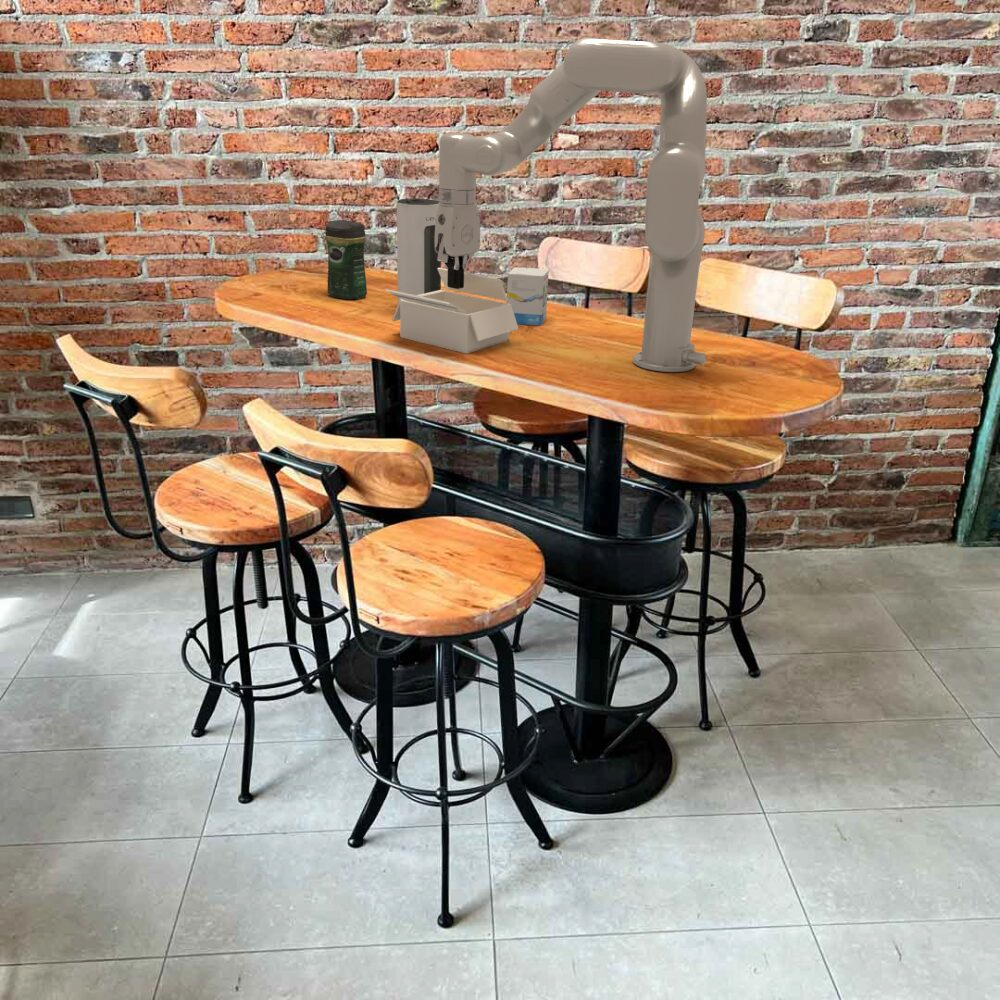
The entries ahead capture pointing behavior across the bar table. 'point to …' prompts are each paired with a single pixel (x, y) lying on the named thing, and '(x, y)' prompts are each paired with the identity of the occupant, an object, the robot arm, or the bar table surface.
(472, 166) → the robot arm
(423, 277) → the speaker
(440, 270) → the back flap
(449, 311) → the carton
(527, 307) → the ink box
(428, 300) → the front flap
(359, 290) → the coffee jar
